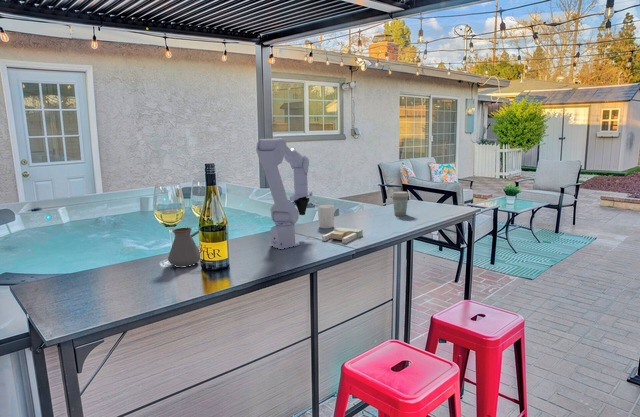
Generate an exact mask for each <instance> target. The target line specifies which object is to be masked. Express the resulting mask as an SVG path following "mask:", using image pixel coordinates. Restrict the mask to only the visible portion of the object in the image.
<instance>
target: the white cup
mask: <svg viewBox="0 0 640 417" xmlns="http://www.w3.org/2000/svg"><path fill="white" fill-rule="evenodd" d="M317 217H318V227H319V228H321V229H332V228H334V225H335V222H334V221H335V205H333V204H321V205H318V206H317Z"/></svg>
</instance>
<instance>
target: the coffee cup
mask: <svg viewBox="0 0 640 417" xmlns="http://www.w3.org/2000/svg"><path fill="white" fill-rule="evenodd" d="M391 195H392V202H393V204H392V205H393V210H394V211H393V212H394V213H393V214H394V216H396V215H397V216H398V217H404V215H405V216H406V215H407V208H408V200H409V199H408V198H409V192H408V191H401V190H397V191H392V194H391Z"/></svg>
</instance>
